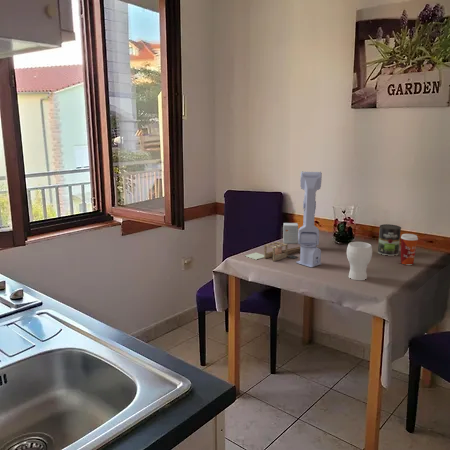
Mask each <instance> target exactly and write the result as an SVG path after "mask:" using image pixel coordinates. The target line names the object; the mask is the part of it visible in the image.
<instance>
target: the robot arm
mask: <svg viewBox="0 0 450 450" xmlns="http://www.w3.org/2000/svg"><path fill="white" fill-rule="evenodd" d="M322 181H323V180H322V171H300V189H301V190H303V191H304V194H303V201H302V210H303V217H302V221H303V222H302V223H303V224H302V226H300V227H298V243H297V245H300V246H299V247H301V249H300V252H299V253H300V254H299V260H297V261H295V263H296V264H299V265H301V266H305V267H308V268H314V267H317V266H321V265H322V250H321V249H320V248H319V247H317V246H319V244H320V230H319V228H318V227H317V226H316V225H315V215H316V214H315V213H316V210H317V209H316V207H317V201H316V197H317V194H316V193H317V191H319V190H321V187H322Z"/></svg>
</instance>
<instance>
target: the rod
mask: <svg viewBox="0 0 450 450" xmlns="http://www.w3.org/2000/svg"><path fill="white" fill-rule="evenodd" d="M300 249H301V246H297V247H292V248H288V252H287V256H290V255H293V254H298V253H300ZM282 253H285V249H282Z"/></svg>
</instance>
